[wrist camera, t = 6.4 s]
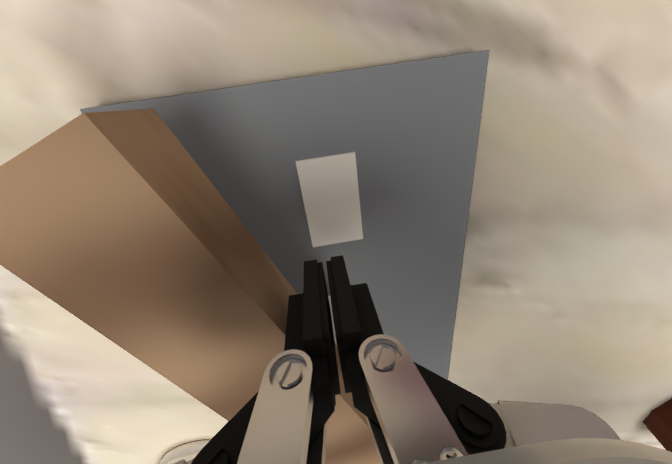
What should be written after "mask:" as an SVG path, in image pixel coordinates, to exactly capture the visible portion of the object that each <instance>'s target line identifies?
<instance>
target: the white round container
mask: <svg viewBox="0 0 672 464" xmlns="http://www.w3.org/2000/svg"><path fill="white" fill-rule="evenodd" d="M209 441H210V440H201V441H195V442H190V443H187V444H183V445H181V446H178V447H176V448H174V449H172V450H171V451H169V452H168V453H167V454H166V455H165V456H164V457H163V458H162V460H161V461H160V463H159V464H174V463H176V462H178V461H180V460H183V459H184V460H185V461H186V462H187V461H190V460H192V459H194V458H195V457H196V455H197V454H198V453H199V452H200V451H201V449H202V448H203V447H204V446H205V445H206V444H207V443H208V442H209Z"/></svg>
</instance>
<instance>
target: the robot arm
mask: <svg viewBox="0 0 672 464" xmlns="http://www.w3.org/2000/svg"><path fill="white" fill-rule="evenodd" d="M330 258H331V261H326V266H327V274H328V282H329V289H330V297H331V305H332V313H333V321H334V328H335V335H336V342H337V348H338V353H339V359H340V365H341V371H342V377H343V382H344V388H345V393H350V392H352V399H353V404H354V407H355V408H356V409H358V410H359V411H360V412H361V413H363V414H364V415H365V416H366V420H367V423H368V426H369V429H370V432H371V435H372V438H373V441H374V444H375V447H376V450H377V453H378V456H379V459H380V462H381V464H672V452H670V451H667V450H663V449H660V448H656V447H652V446H649V445H645V444H640V443H635V442H629V441H623V440H620V438H619V437H618V435H617V434H616V433H615V432H614V431H613V429H612V428H611V427H610V426H609V425H608V424H607V423H606V422H605V421H603V420H602V419H601V418H599V417H598V416H597V415H595V414H594V413H592V412H589V411H587V410H585V409H583V408H580V407H576V406H571V405H557V404H542V403H528V402H514V401H499V400H498V403H497V404H492V403H487V402H486V401H484V400H483V399H481V398H480V397H478V396H476V395H474V394H472V393H471V392H469V391H467V390H465V389H463V388H461V387H460V386H458V385H456V384H454V383H452V382H450V381H449V380H447V379H445V378H443V377H441V376H439V375H437V374H436V373H434V372H432V371H430V370H428V369H426V368H425V367H423V366H421V365H419V364H417V363H415V362H413V360H412V359H411V357H410V355H409V354H408V352H407V350H406V349H405V347H404V346H403V344H402V343H401V342H400V341H399V340H397V339H396V338H394V337H392V336H389V335H384V333H383V330H382V327H381V324H380V321H379V318H378V315H377V312H376V309H375V306H374V303H373V300H372V297H371V294H370V291H369V288H368V285H367V283H362V284H356V285H350V282H349V278H348V274H347V270H346V265H345V261H344V257H343V255H341V256H335V257H330ZM339 394H341V391H340V383H339V375H338V366H337V358H336V350H335V341H334V333H333V325H332V316H331V310H330V304H329V298H328V292H327V286H326V281H325V275H324V269H323V263H322V262H319V263H317V259H316V260H309V261H304V287H303V293H301V294H295V295H290V296H289V299H288V310H287V322H286V334H285V346H284V352H282V353H279V354H278V355H277V356H275V357H274V358H273V359H272V360H271V361H270V363H269V364H268V365H267V368H266V370H265V372H264V375H263V379H262V382H261V385H260V389H259V391H258V392H257V393H256V394H255V395H254V396H253V397H252V398H251V399H250V400H249V401H248V402H247V403H246V404H245V405H244V406H243V407H242V409H241V410H240V411H239V412H238V413H237V414H236V415H235V416H234V417H233V418H232V419H231V420H230V421H229V422H228V423H227V424H226V425H225V426H224V427H223V428H222V429H221V430H220V431H219V432H218V433H217V434H216V435H215V436H214V437H213V438H212V439H211V440H210V441H209V442H208V443H207V444H206V445H205V446H204V447H203V448H202V449H201V451H200V452H199V453H198V454H197V455H196V457H195V458H194V459H192V460H190V461H187V462H186V461H185V460H184V459H183V460H180V461H178V462H176V463H174V464H325V454H326V439H327V421H328V419H329V418H330V416H331V415H332V414H333V412H334V411H335V406H336V399H335V395H339Z"/></svg>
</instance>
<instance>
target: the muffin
mask: <svg viewBox="0 0 672 464" xmlns="http://www.w3.org/2000/svg"><path fill="white" fill-rule="evenodd" d="M643 422H644V423H645V425H646V426H647V428H648V429H649V430H650V431H651V433H652V434H653V435H654V436H655V437H656V438H657V440H658V441H659V442H660V443H661V444H662V445H663V447H664V448H665V449H666V450H667V451H670V452H672V399H670V400H669V401H667V402H666V403H664V404H663V405H661V406H659V407H657V408H656V409H654V410H652V411H651V413H650V414H649V416H648V417H647V418H646V419H645V420H644V421H643Z"/></svg>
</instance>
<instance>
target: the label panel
mask: <svg viewBox="0 0 672 464" xmlns="http://www.w3.org/2000/svg"><path fill="white" fill-rule="evenodd" d="M488 58H489V50H484V51H478V52H471V53H464V54H457V55H450V56H443V57H436V58H429V59H422V60H416V61H409V62H402V63H395V64H388V65H381V66H374V67H367V68H360V69H354V70H347V71H340V72H333V73H326V74H319V75H312V76H305V77H298V78H292V79H285V80H278V81H271V82H264V83H257V84H250V85H243V86H236V87H230V88H223V89H216V90H209V91H202V92H195V93H188V94H181V95H174V96H168V97H161V98H154V99H147V100H140V101H133V102H126V103H119V104H112V105H106V106H99V107H92V108H85V109H80V110H81V112H82V114H83V113H91V112H107V111H123V110H138V109H155V111H156V112H157V113H158V114H159V116H160V117H161V118H162V120H163V121H164V122H165V123H166V125H167V126H168V127H169V129H170V130H171V131H172V133H173V134H174V135H175V136H176V138H177V139H178V140H179V142H180V143H181V144H182V145H183V147H184V148H185V149H186V151H187V152H188V153H189V154H190V156H191V157H192V158H193V160H194V161H195V162H196V164H197V165H198V166H199V167H200V169H201V170H202V171H203V173H204V174H205V175H206V176H207V178H208V179H209V180H210V182H211V183H212V184H213V186H214V187H215V188H216V189H217V191H218V192H219V193H220V195H221V196H222V197H223V198H224V200H225V201H226V202H227V204H228V205H229V206H230V208H231V209H232V210H233V211H234V213H235V214H236V215H237V217H238V218H239V219H240V220H241V222H242V223H243V224H244V226H245V227H246V228H247V229H248V231H249V232H250V233H251V235H252V236H253V237H254V239H255V240H256V241H257V242H258V244H259V245H260V246H261V248H262V249H263V250H264V251H265V253H266V254H267V255H268V257H269V258H270V259H271V261H272V262H273V263H274V264H275V266H276V267H277V268H278V270H279V271H280V272H281V273H282V275H283V276H284V277H285V279H286V280H287V281H288V283H289V284H290V285H291V286H292V288H293V289H294V290H295V292H296V293H297V294H301V293H303V287H304V261H309V260H316V259H317V263H319V262H322V263H323V269H324V275H325V281H326V286H327V292H328V298H329V304H330V310H331V316H332V325H333V333H334V341H335V343H336V345H337V342H336V335H335V328H334V321H333V313H332V305H331V297H330V289H329V282H328V274H327V266H326V261H331V258H330V257H335V256H341V255H343V257H344V261H345V265H346V270H347V274H348V278H349V282H350V285H356V284H362V283H367V285H368V288H369V291H370V294H371V297H372V300H373V303H374V306H375V309H376V312H377V315H378V318H379V321H380V324H381V327H382V330H383V333H384V335H389V336H392V337H394V338H396V339H397V340H399V341H400V342H401V343H402V344H403V346H404V347H405V349H406V350H407V352H408V354H409V355H410V357H411V359H412V360H413V362H415V363H417V364H419V365H421V366H423V367H425V368H426V369H428V370H430V371H432V372H434V373H436V374H437V375H439V376H441V377H443V378H445V379H447V380H448V373H449V365H450V357H451V349H452V341H453V333H454V325H455V317H456V310H457V302H458V294H459V286H460V278H461V270H462V262H463V254H464V247H465V239H466V231H467V223H468V215H469V207H470V199H471V191H472V184H473V176H474V168H475V160H476V152H477V144H478V136H479V128H480V121H481V113H482V105H483V97H484V89H485V81H486V73H487V65H488Z"/></svg>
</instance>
